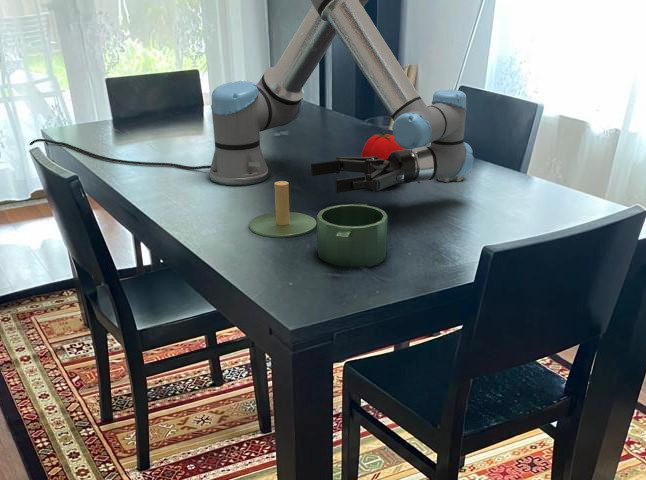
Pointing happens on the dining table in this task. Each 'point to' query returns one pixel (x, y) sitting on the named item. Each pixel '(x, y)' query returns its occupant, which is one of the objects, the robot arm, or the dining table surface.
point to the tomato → (380, 146)
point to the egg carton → (457, 178)
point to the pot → (352, 235)
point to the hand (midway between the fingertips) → (323, 177)
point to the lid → (282, 218)
